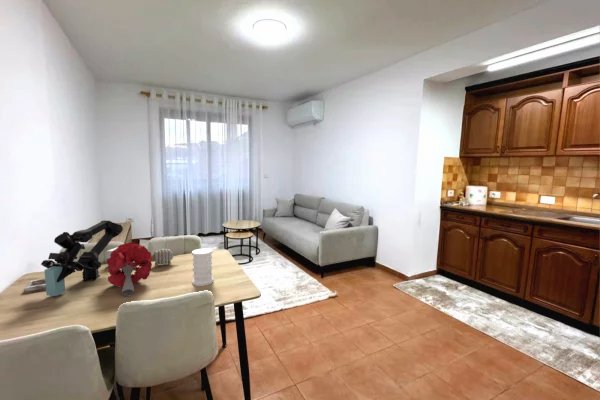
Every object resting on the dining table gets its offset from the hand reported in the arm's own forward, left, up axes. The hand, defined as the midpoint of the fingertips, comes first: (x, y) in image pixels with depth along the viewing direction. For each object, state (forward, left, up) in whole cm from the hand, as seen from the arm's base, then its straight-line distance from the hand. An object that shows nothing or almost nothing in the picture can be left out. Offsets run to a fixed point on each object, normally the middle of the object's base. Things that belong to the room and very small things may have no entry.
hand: (52, 281), depth 136 cm
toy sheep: (-42, -36, -8) cm, 57 cm away
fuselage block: (0, -1, -7) cm, 7 cm away
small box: (-12, -43, -8) cm, 46 cm away
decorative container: (-69, -3, -8) cm, 70 cm away
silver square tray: (+13, -14, -8) cm, 21 cm away
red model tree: (-32, -5, -8) cm, 33 cm away
